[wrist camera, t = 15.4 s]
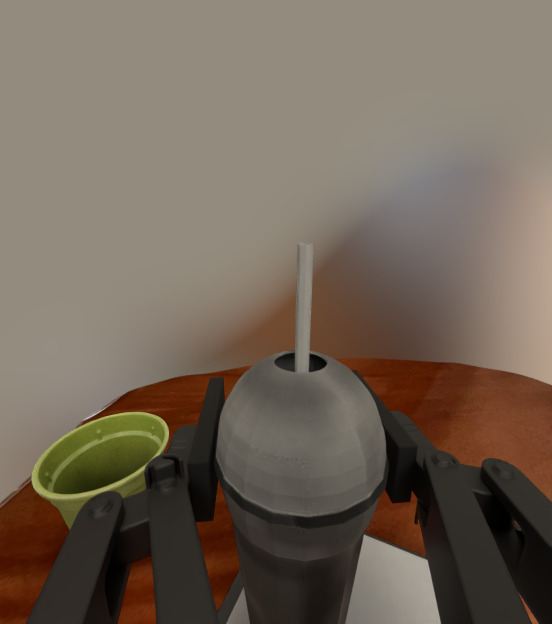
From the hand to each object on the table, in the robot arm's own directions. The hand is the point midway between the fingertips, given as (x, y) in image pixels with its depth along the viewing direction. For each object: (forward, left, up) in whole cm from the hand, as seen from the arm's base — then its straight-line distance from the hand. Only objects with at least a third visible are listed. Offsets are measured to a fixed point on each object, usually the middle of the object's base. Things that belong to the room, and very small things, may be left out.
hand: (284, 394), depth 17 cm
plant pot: (-15, -2, -16) cm, 22 cm away
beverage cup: (+2, -4, -11) cm, 12 cm away
